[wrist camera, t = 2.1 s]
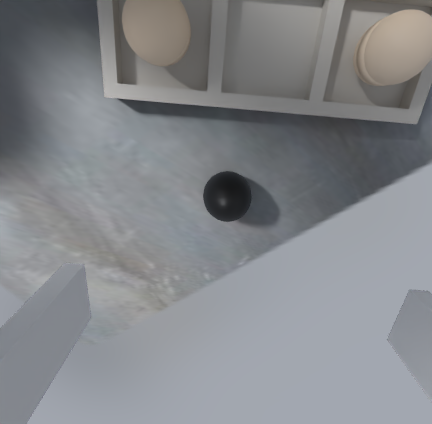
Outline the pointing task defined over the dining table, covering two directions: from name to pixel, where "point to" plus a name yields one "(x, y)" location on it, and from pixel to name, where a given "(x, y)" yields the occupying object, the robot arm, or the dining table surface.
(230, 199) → the egg
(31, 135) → the dining table surface
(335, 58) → the carton
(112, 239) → the dining table surface
